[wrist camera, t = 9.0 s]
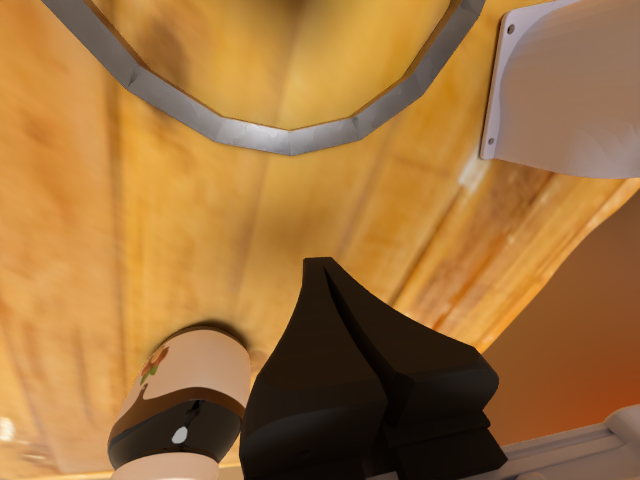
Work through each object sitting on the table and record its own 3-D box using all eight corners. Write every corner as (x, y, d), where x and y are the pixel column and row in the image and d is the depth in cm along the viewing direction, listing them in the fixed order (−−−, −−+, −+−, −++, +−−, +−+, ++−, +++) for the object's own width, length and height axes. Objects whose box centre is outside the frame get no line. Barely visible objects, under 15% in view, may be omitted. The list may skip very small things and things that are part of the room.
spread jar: (216, 305, 23) (175, 456, 13) (281, 359, 29) (286, 493, 19) (121, 360, 24) (18, 536, 14) (201, 401, 30) (166, 547, 20)
